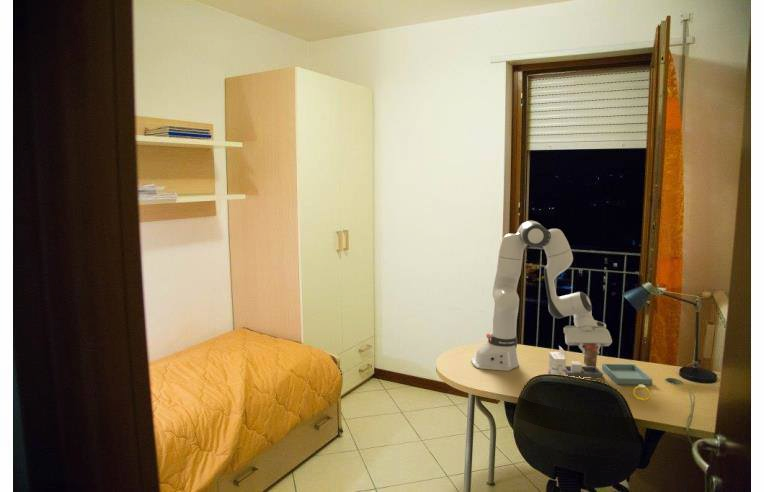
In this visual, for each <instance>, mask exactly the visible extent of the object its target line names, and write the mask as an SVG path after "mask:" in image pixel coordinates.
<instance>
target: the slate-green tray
mask: <svg viewBox="0 0 764 492" xmlns="http://www.w3.org/2000/svg"><path fill="white" fill-rule="evenodd" d="M601 365H602V367H601V370H602V372H604V373H605V375H606V376H607V377H608V378H610V380H612V382H613V381H614V382H615V383H616V384H615V385H616V386H632V387H633V386H635V387H636V386H638V385H639V384H642V385H645V386H646V387H652V385H653V378H651V377H650V376H649V375H648V374H646V372H644V371H643V370H642V369H641V368H640V367H639V366H638V365H636V364H634V363H602V364H601ZM614 382H613V383H614Z"/></svg>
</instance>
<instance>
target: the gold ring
mask: <svg viewBox="0 0 764 492" xmlns="http://www.w3.org/2000/svg"><path fill="white" fill-rule="evenodd" d="M638 388H639V389H644V390H646V391H647V392H648V395H647V397H645V398H643V397H639V396H637V395H636V393H635V390H636V389H638ZM632 394H633V397H634V398H635V399H636V400H641V401H647V400H649V398H650V397H651V391H650V390H649V388H648V387H647V386H645V385H642V384H639V385H638V386H635V387H634V388H633V392H632Z"/></svg>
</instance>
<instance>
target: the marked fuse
mask: <svg viewBox="0 0 764 492" xmlns="http://www.w3.org/2000/svg"><path fill="white" fill-rule="evenodd" d="M584 349H587V354H583V355H584V356H583V364H584V366H594V367H597V360H598V354H597V349H598V348H597V347H596V346H595V345H594V344H585V346H584Z"/></svg>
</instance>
